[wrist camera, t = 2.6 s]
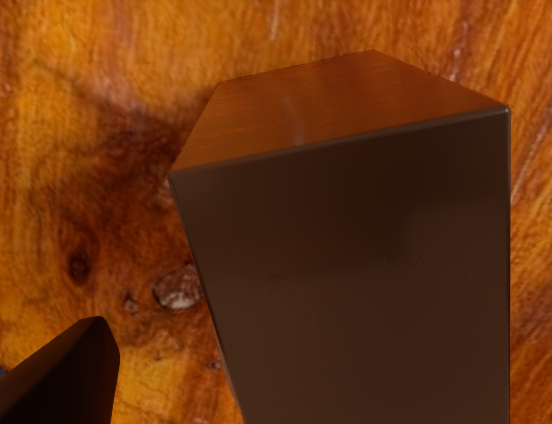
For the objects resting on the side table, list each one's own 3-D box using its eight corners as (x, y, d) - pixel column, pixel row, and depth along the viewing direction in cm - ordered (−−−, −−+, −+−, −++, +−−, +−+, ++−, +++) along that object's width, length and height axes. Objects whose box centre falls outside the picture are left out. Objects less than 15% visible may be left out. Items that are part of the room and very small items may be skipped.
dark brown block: (268, 309, 15) (272, 546, 8) (211, 83, 12) (151, 176, 5) (401, 284, 14) (512, 510, 8) (375, 48, 12) (515, 103, 5)
